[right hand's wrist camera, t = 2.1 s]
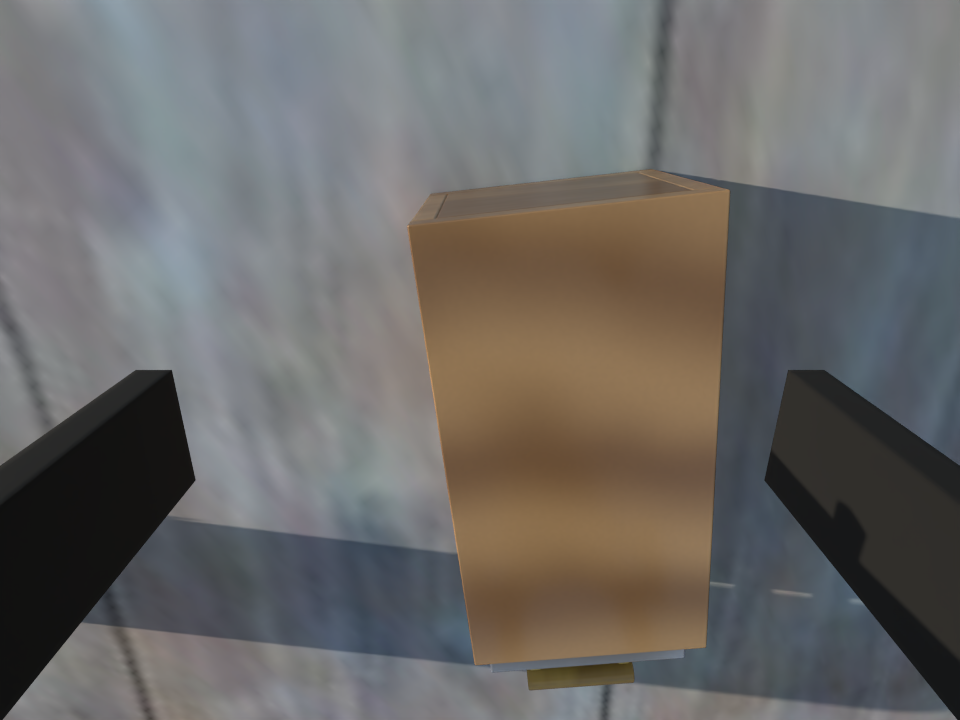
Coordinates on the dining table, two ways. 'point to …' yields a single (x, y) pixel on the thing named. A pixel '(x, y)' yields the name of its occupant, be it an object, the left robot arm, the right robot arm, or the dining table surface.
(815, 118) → the dining table surface
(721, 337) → the cabinet
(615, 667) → the drawer
